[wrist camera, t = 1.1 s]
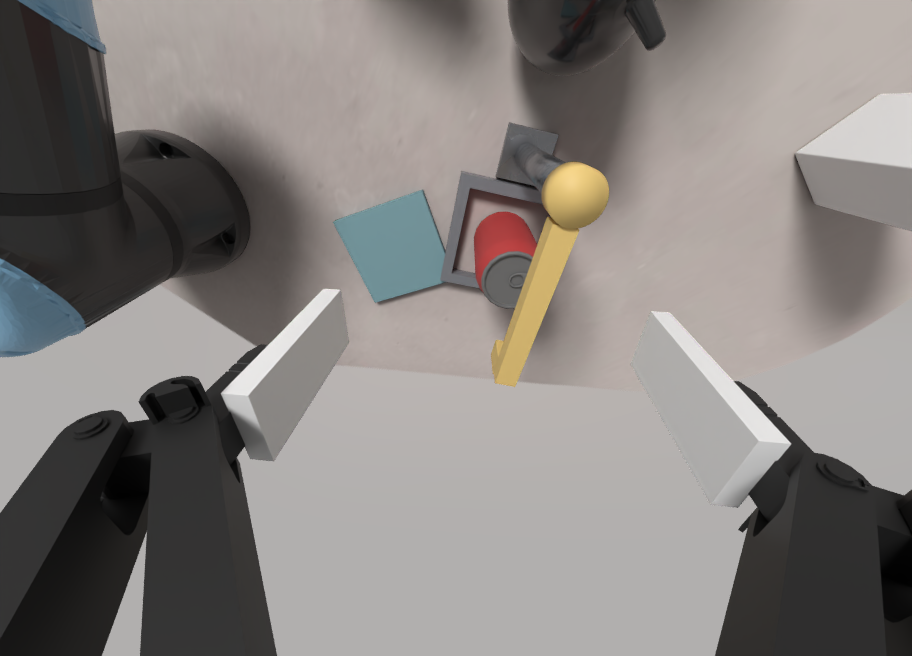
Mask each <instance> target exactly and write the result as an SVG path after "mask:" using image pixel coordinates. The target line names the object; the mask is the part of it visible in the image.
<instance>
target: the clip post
mask: <svg viewBox="0 0 912 656" xmlns="http://www.w3.org/2000/svg"><path fill="white" fill-rule="evenodd" d="M557 138H558V134H554V133H550V132H546V131H542V130H538V129H534V128H530V127H526V126H522V125H518V124H513V123H509V125H508V129H507V133H506V137H505V141H504V145H503V149H502V153H501V157H500V161H499V164H498V168H497V172H496V177H499V178H503V179H507V180H512V181H516V182H520V183H524V184H529V185H533V186H535V187H536V188H537V189H538V190H539V191H540V193H541V194H542V188H543V184H544V182H545V180H546V178H547V177H548V175H549V174H550V173H551V172H552V171H553V170H554V169H555V168H556V167H558V166H560V165H562V164H564V163H565V162H563V161H562V160H560V159H558V158H556V157H554V156H553V155H552V154H553V151H554V148H555V145H556V142H557Z"/></svg>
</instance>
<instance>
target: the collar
mask: <svg viewBox="0 0 912 656" xmlns="http://www.w3.org/2000/svg"><path fill="white" fill-rule="evenodd" d="M470 188H473V189H477V190H482V191H486V192H490V193H495V194H499V195H504V196H508V197H512V198H517V199H521V200H526V201H530V202H534V203H539V204H543V203H542V194H541V193H540V191H539V190H538V189H537V188H533V187H529V186H524V185H520V184H516V183H511V182H507V181H503V180H498V179H494V178H490V177H485V176H481V175H477V174H473V173H468V172H464V171H461V176H460V181H459V186H458V191H457V196H456V201H455V206H454V211H453V216H452V222H451V227H450V232H449V237H448V242H447V247H446V252H445V257H444V262H443V267H442V273H441V278H440V280H441V281H446V282H450V283H455V284H460V285H465V286H470V287H475V288H479V285H478V283H477V280H476V274H475V273H471V272H466V271H461V270H456V269H453V264H454V259H455V255H456V250H457V246H458V241H459V236H460V232H461V227H462V222H463V218H464V213H465V209H466V204H467V199H468V195H469V190H470Z"/></svg>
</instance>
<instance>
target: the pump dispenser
mask: <svg viewBox="0 0 912 656" xmlns="http://www.w3.org/2000/svg"><path fill="white" fill-rule="evenodd" d="M655 1H656V0H508V15H509V22H510V27H511V30H512V34H513V36H514V39H515V41H516V44H517V46H518V48H519V49H520V51H521V52H522V54H523V55H524V57H525V58H526V59H527V60H528V61H529V62H530V63H531V64H532V65H533V66H535V67H536V68H538V69H539V70H541V71H543V72H545V73H548V74H552V75H557V76H569V75H575V74H579V73H582V72H585V71H587V70H590V69H592V68H594V67H596V66H597V65H599V64H600V63H602V62H603V61H605V60H606V59H608V58H609V57H610V56H611V55H612V54H614V53H615V52H616V51H617V50H618V49H619V48H620V47H621V46H622V45H623V44H624V43H625V42H626V41H627V40H628V39H629V38H630V37H631V36H632V35H633V34H634V32H636V33H637V35H638V37H639V38H640V40H641V41H642V43H643V45H644V46H645V48H646V49H647V50H648V51H650V50H654V49H655V48H657V47H658V46H659V45H661V44H662V42H663V41H664V40H665V38H666V31H665V28H664V26H663V23H662V20H661V17H660V15H659V12H658V9H657V7H656V4H655Z"/></svg>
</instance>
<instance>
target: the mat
mask: <svg viewBox="0 0 912 656" xmlns="http://www.w3.org/2000/svg"><path fill="white" fill-rule="evenodd" d="M333 223H334V225H335V227H336V229H337V231H338V233H339V235H340V237H341V239H342V240H343V242H344V244H345V246H346V248H347V250H348V252H349V254H350V256H351V258H352V260H353V262H354V264H355V265H356V267H357V269H358V271H359V273H360V275H361V277H362V279H363V281H364V283H365V285H366V287H367V288H368V290H369V292H370V294H371V296H372V298H373V300H374V302H375V303H376V302H379V301H382V300H386V299H389V298H393V297H396V296H400V295H403V294H407V293H410V292H413V291H417V290H420V289H424V288H427V287H431V286H434V285H438V284H441V283H444V282H446V281H441V280H440V278H441V273H442V267H443V262H444V257H445V250H444V247H443V244H442V241H441V238H440V236H439V233H438V230H437V227H436V225H435V222H434V219H433V216H432V213H431V211H430V208H429V205H428V202H427V200H426V197H425V194H424V191H423V190H420V191H417V192H415V193H412V194H409V195H406V196H403V197H400V198H398V199H395V200H392V201H389V202H386V203H383V204H381V205H378V206H375V207H372V208H369V209H366V210H364V211H361V212H358V213H355V214H352V215H349V216H346V217H344V218H341V219H338V220H335V221H334V222H333Z"/></svg>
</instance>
